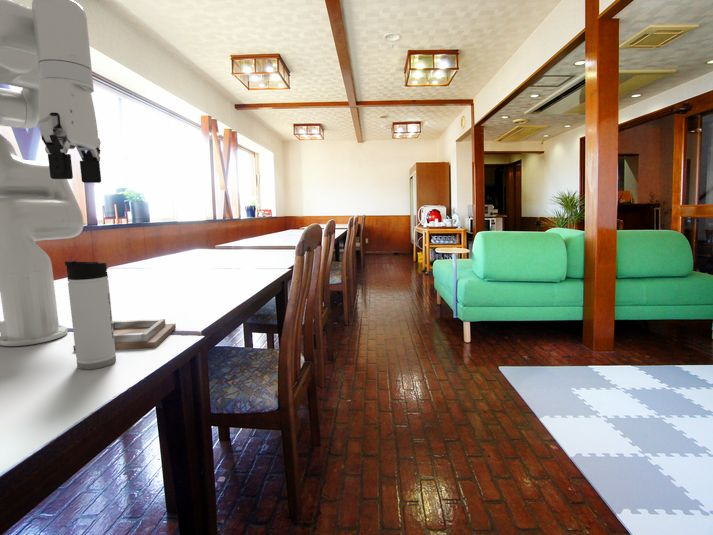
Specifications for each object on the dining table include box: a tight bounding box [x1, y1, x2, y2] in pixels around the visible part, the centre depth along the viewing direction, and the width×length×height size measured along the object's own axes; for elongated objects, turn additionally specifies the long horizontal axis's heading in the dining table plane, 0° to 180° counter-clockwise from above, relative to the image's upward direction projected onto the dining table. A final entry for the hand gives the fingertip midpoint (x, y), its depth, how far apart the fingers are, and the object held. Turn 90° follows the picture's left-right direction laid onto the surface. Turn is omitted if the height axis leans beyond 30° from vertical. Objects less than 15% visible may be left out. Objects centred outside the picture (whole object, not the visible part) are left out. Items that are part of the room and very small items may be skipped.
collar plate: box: [73, 318, 176, 352], centre depth 92 cm, size 16×14×3 cm
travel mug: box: [64, 260, 117, 371], centre depth 76 cm, size 6×7×20 cm
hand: (77, 180), depth 73 cm, fingers open, 9 cm apart
